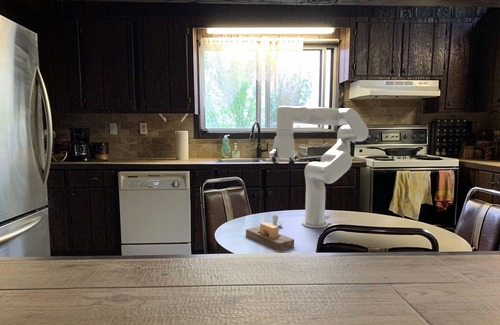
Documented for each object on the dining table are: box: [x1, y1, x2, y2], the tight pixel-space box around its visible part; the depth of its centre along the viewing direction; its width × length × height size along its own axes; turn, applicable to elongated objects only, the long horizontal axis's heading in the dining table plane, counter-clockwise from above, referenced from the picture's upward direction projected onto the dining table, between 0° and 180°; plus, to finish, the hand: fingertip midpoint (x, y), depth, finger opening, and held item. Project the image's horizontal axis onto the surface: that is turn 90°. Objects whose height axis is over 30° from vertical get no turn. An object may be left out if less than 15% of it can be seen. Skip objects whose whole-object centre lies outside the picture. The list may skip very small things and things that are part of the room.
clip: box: [259, 221, 279, 238], centre depth 140 cm, size 3×8×7 cm, turn 37°
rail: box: [245, 226, 295, 251], centre depth 141 cm, size 8×22×3 cm, turn 37°
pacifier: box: [267, 214, 283, 228], centre depth 163 cm, size 7×6×6 cm
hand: (283, 170), depth 153 cm, fingers open, 9 cm apart
